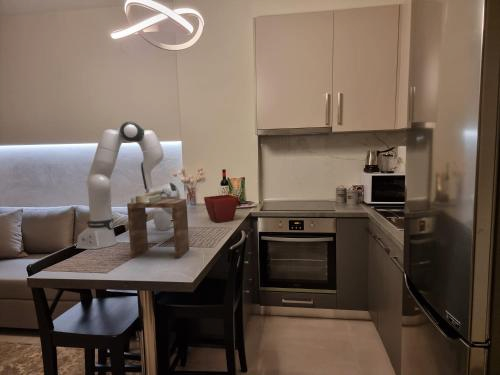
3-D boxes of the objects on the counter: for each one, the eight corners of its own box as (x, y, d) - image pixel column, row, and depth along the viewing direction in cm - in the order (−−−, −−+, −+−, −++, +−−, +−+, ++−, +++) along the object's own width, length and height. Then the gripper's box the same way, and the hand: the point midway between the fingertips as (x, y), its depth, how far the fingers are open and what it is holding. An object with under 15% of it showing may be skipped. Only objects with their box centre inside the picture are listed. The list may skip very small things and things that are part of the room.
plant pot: (204, 219, 250) (203, 196, 248) (229, 216, 258) (228, 194, 256) (213, 224, 233) (211, 199, 231) (239, 221, 241) (238, 197, 239)
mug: (172, 225, 234) (171, 206, 232) (180, 228, 225) (179, 208, 224) (151, 229, 224) (150, 209, 223) (158, 232, 216) (157, 211, 214)
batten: (135, 202, 162) (135, 196, 161) (156, 196, 183) (155, 190, 183) (141, 202, 161) (141, 196, 161) (161, 196, 183) (161, 190, 182)
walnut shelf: (131, 257, 165) (127, 203, 162) (144, 249, 179) (141, 199, 176) (179, 258, 161) (176, 203, 158) (189, 249, 175) (186, 198, 172)
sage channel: (131, 203, 164) (130, 198, 164) (141, 199, 175) (141, 194, 174) (151, 202, 162) (150, 197, 162) (160, 199, 173) (160, 194, 173)
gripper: (148, 195, 194) (137, 185, 181) (183, 194, 190) (174, 184, 178) (146, 206, 191) (134, 196, 179) (181, 205, 188) (172, 196, 175)
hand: (154, 190), depth 178 cm, fingers open, 8 cm apart
